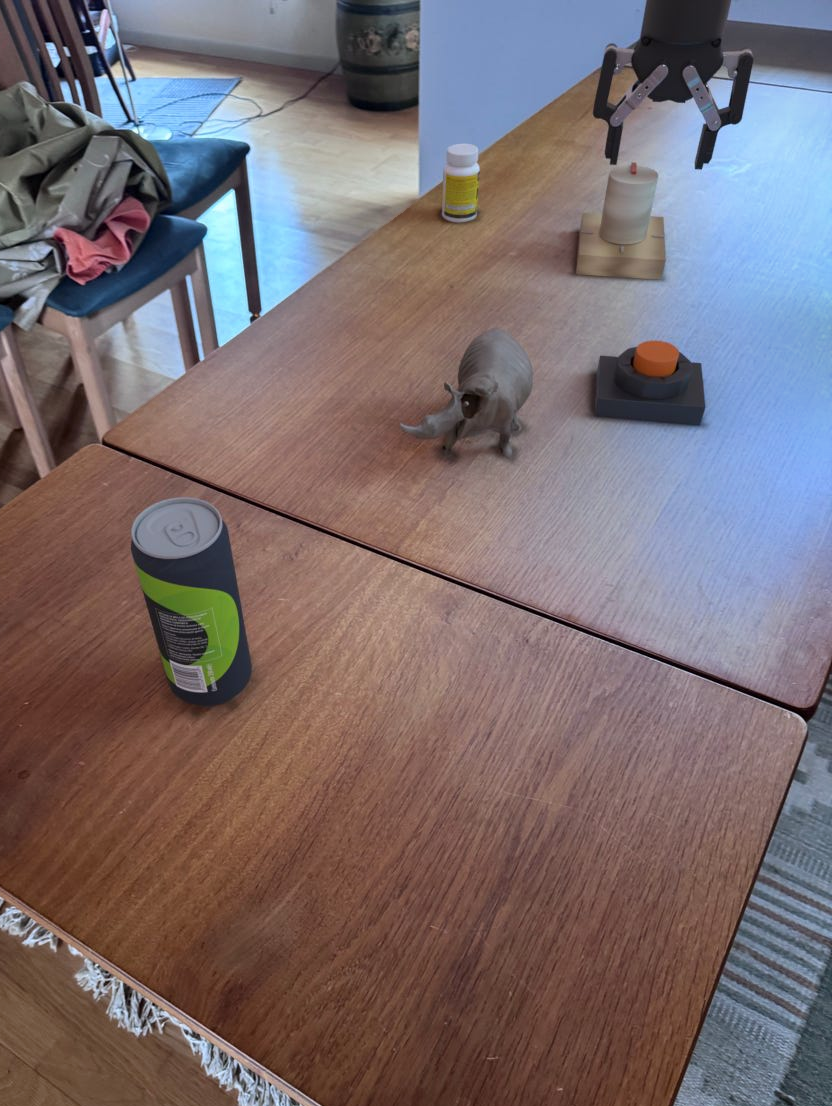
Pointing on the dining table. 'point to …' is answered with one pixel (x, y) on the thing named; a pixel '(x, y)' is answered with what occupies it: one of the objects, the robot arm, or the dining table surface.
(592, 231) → the tan square base
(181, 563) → the beverage can
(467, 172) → the supplement bottle
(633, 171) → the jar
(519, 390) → the rhinoceros figurine
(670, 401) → the button box
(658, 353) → the button
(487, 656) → the dining table surface
